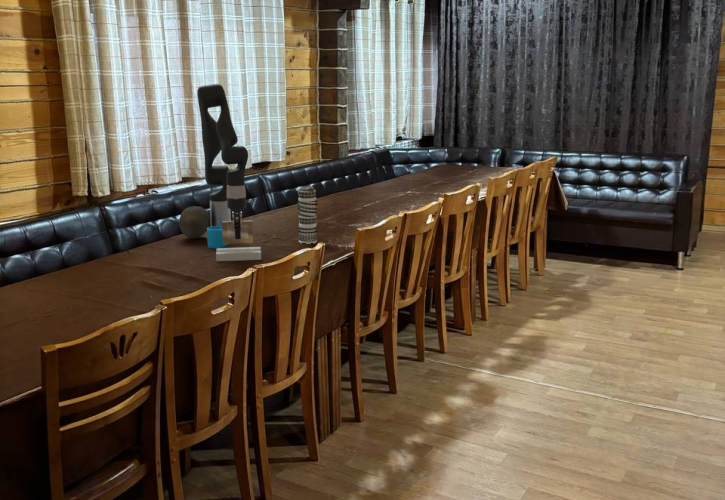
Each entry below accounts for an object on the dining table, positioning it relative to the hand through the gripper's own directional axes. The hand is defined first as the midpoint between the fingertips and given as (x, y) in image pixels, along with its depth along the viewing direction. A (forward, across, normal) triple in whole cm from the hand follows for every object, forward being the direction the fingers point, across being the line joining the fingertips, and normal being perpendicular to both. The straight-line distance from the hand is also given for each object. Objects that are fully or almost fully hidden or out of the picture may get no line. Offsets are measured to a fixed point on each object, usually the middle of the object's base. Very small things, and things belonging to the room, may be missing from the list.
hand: (238, 237), depth 275 cm
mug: (+9, -21, -8) cm, 24 cm away
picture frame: (+2, 0, 0) cm, 2 cm away
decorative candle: (+8, -24, +31) cm, 40 cm away
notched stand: (+8, 0, 0) cm, 8 cm away
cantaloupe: (+8, -39, -20) cm, 45 cm away
